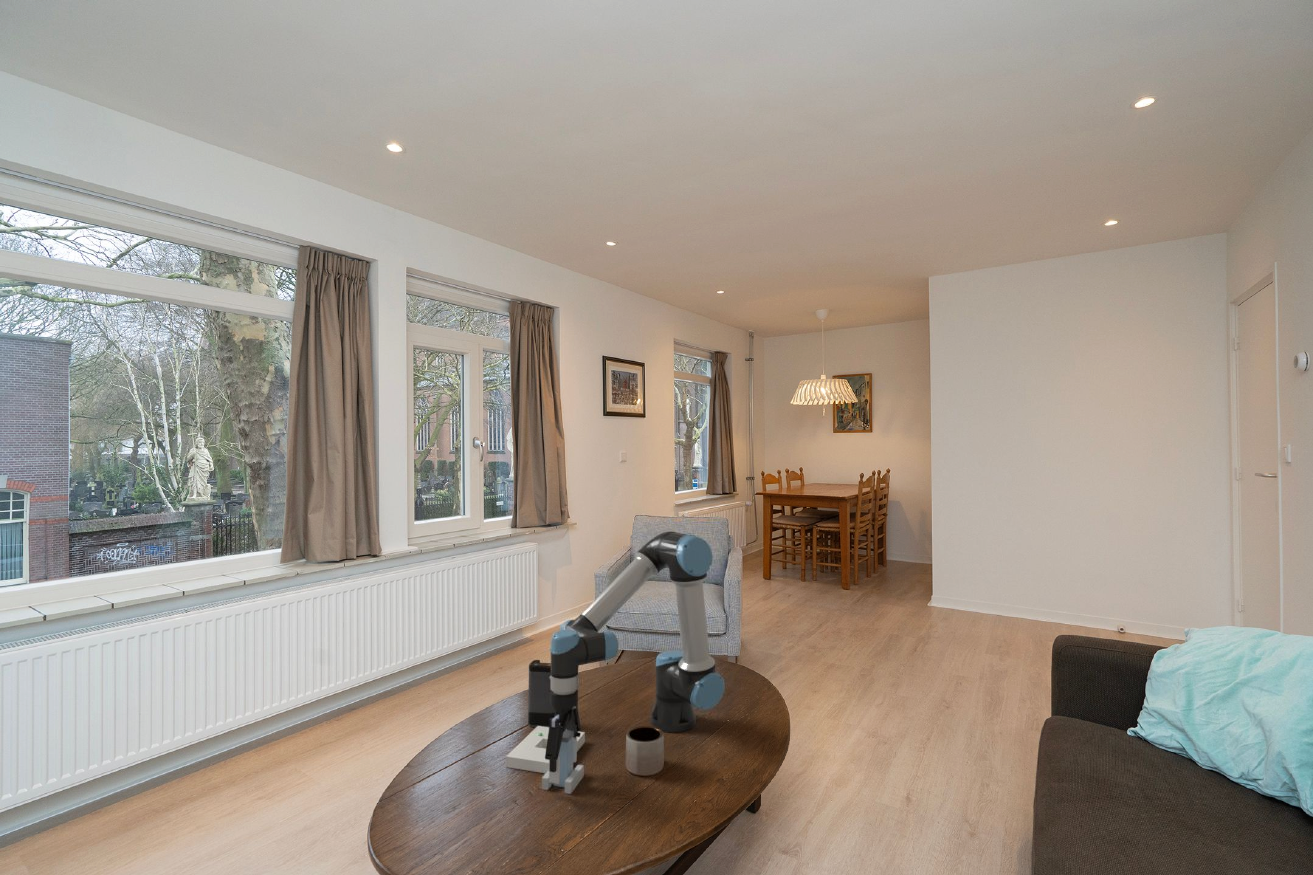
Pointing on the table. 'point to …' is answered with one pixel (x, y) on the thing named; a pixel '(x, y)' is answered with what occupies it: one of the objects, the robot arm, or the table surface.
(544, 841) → the table surface
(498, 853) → the table surface
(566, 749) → the plug
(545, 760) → the port plate
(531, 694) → the electronic device
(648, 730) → the planter
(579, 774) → the cradle
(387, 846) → the table surface
